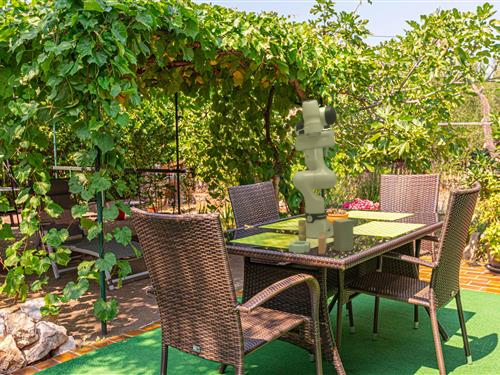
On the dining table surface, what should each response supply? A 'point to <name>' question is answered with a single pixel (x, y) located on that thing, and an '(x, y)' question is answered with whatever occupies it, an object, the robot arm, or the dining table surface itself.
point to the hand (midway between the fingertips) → (316, 157)
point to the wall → (322, 243)
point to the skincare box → (343, 235)
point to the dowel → (302, 230)
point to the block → (299, 246)
